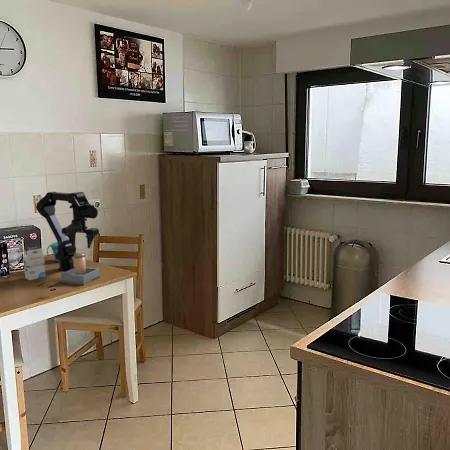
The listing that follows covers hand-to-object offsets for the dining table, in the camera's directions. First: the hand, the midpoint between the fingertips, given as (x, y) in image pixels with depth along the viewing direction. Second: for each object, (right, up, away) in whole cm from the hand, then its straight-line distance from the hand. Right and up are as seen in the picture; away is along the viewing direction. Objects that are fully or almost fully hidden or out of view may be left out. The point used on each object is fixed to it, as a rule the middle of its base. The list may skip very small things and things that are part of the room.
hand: (81, 247), depth 230 cm
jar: (+3, -14, -11) cm, 18 cm away
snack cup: (-19, -9, +26) cm, 33 cm away
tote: (+3, -15, -11) cm, 19 cm away
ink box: (-21, -15, -6) cm, 26 cm away
